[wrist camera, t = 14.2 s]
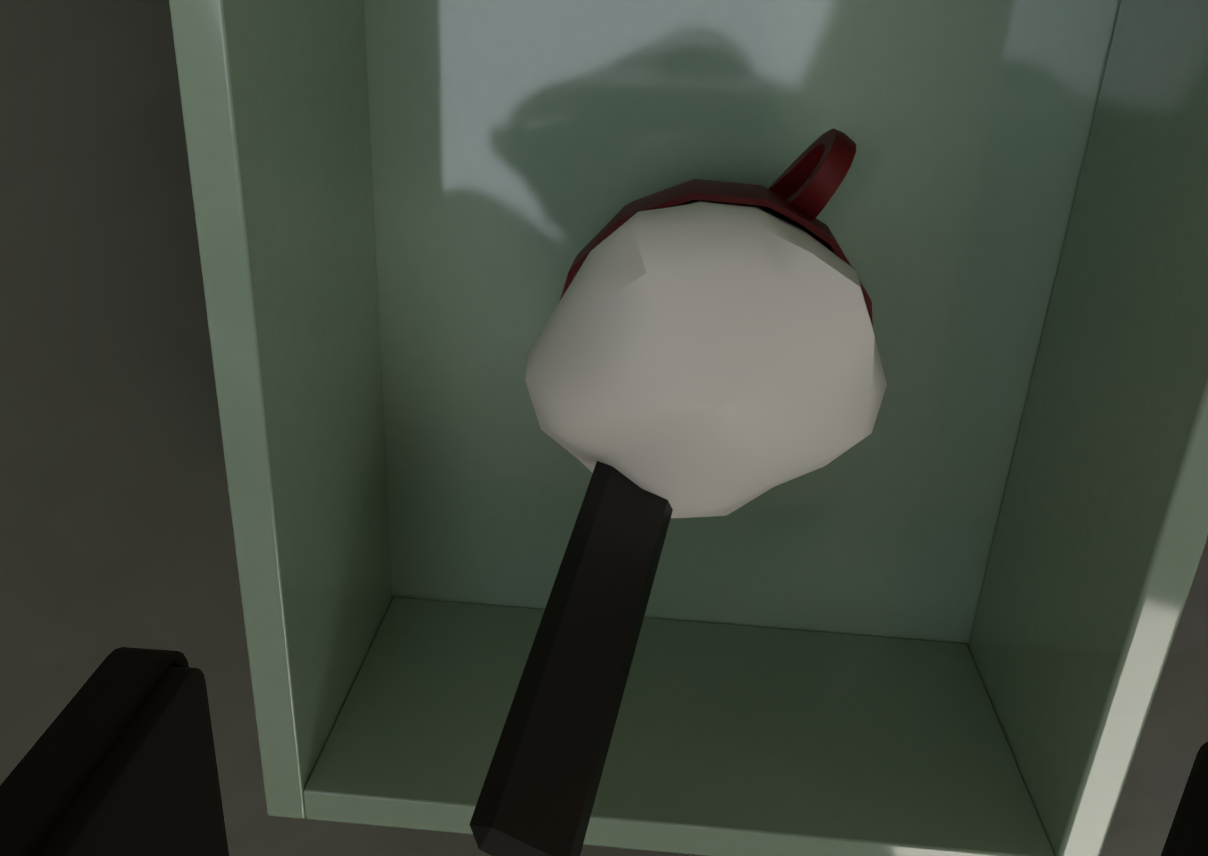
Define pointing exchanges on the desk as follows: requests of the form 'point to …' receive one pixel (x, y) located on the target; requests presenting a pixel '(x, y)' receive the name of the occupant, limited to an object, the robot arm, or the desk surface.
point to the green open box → (780, 515)
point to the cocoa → (672, 440)
